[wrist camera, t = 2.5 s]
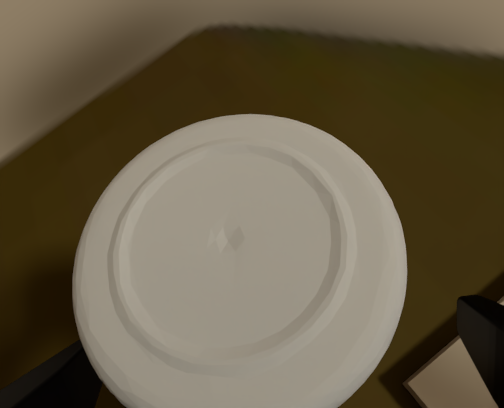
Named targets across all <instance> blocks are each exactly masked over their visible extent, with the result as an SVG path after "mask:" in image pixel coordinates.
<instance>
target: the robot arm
mask: <svg viewBox="0 0 504 408" xmlns="http://www.w3.org/2000/svg"><path fill="white" fill-rule="evenodd" d="M457 331H458V334H459V337H460V339H461V340H462V342H463V344H464V346H465V348H466V350H467V352H468V354H469V355H470V357H471V359H472V361H473V363H474V365H475V367H476V369H477V370H478V372H479V374H480V376H481V378H482V380H483V382H484V384H485V385H486V387H487V389H488V391H489V393H490V394H491V396H492V398H493V400H494V401H495V403H496V404H497V406H498V407H499V408H504V305H502V304H499V303H497V302H494V301H492V300H489V299H487V298H484V297H482V296H479V295H468V296H461V297H459V298H458V300H457ZM102 383H103V382H102V381H101V379H100V378H99V376H98V375H97V373H96V371H95V370H94V368H93V366H92V365H91V363H90V361H89V358H88V356H87V354H86V352H85V350H84V348H83V345H82V342H81V340H78V341H76V342H75V343H73V344H72V345H70V346H69V347H67V348H65V349H64V350H62V351H61V352H59V353H58V354H56V355H55V356H53V357H51V358H50V359H48V360H47V361H45V362H44V363H42V364H41V365H39V366H37V367H36V368H34V369H33V370H31V371H30V372H28V373H27V374H25V375H23V376H22V377H20V378H19V379H17V380H16V381H14V382H13V383H11V384H9V385H8V386H6V387H5V388H3V389H2V390H0V408H94V407H95V404H96V401H97V398H98V395H99V392H100V389H101V386H102Z"/></svg>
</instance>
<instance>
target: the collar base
mask: <svg viewBox="0 0 504 408" xmlns="http://www.w3.org/2000/svg"><path fill="white" fill-rule="evenodd" d="M497 303H499V304H502V305H504V296H503V297H502V298H501V299H500V300H499V301H498V302H497ZM402 384H403V385H404V386H405V388H406V389H407V390H408V391H409V392H410V394H411V395H412V396H413V397H414V399H415V400H416V401H417V402H418V403H419V405H420V406H421V407H422V408H499V407H498V406H497V404H496V403H495V401H494V400H493V398H492V396H491V394H490V393H489V391H488V389H487V387H486V385H485V384H484V382H483V380H482V378H481V376H480V374H479V372H478V370H477V369H476V367H475V365H474V363H473V361H472V359H471V357H470V355H469V354H468V352H467V350H466V348H465V346H464V344H463V342H462V340H461V339H460V337H459V335H458V336H457V337H456V338H455V339H453V340H452V341H451V342H450V343H449V344H448V345H446V346H445V347H444V348H443V349H442V350H441V351H439V352H438V353H437V354H436V355H435V356H434V357H432V358H431V359H430V360H429V361H428V362H427V363H425V364H424V365H423V366H422V367H421V368H420V369H418V370H417V371H416V372H415V373H414V374H413V375H411V376H410V377H409V378H408V379H407V380H406V381H404V382H403V383H402Z"/></svg>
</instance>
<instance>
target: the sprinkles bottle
mask: <svg viewBox="0 0 504 408" xmlns="http://www.w3.org/2000/svg"><path fill="white" fill-rule="evenodd" d="M406 281H407V259H406V246H405V241H404V236H403V230H402V225H401V222H400V220H399V217H398V214H397V212H396V210H395V208H394V205H393V202H392V200H391V198H390V197H389V195H388V193H387V192H386V190H385V188H384V186H383V185H382V183H381V181H380V180H379V179H378V177H377V176H376V175H375V173H374V172H373V171H372V169H371V168H370V167H369V166H368V165H367V164H366V163H365V162H364V161H363V160H362V159H361V157H360V156H358V155H357V154H356V153H355V152H353V151H352V150H351V149H350V148H349V147H347V146H346V145H345V144H344V143H342V142H341V141H339V140H338V139H336V138H334V137H333V136H331V135H330V134H328V133H326V132H324V131H322V130H320V129H317V128H315V127H313V126H310V125H307V124H304V123H301V122H298V121H295V120H292V119H288V118H282V117H276V116H270V115H258V114H244V115H231V116H223V117H217V118H213V119H209V120H205V121H201V122H197V123H195V124H192V125H189V126H187V127H184V128H182V129H179V130H177V131H175V132H173V133H171V134H169V135H167V136H165V137H164V138H162V139H160V140H159V141H157V142H155V143H153V144H152V145H150V146H149V147H147V148H146V149H145V150H143V151H142V152H141V153H139V154H138V155H137V156H136V157H135V158H134V159H133V160H131V161H130V162H129V163H128V164H127V165H126V166H125V167H124V168H123V169H122V170H121V171H120V172H119V173H118V174H117V175H116V177H115V178H114V179H113V180H112V181H111V183H110V184H109V185H108V186H107V188H106V189H105V191H104V192H103V193H102V195H101V197H100V198H99V200H98V201H97V203H96V205H95V207H94V208H93V210H92V212H91V214H90V216H89V218H88V220H87V223H86V225H85V227H84V230H83V233H82V235H81V238H80V241H79V245H78V248H77V251H76V256H75V263H74V269H73V280H72V299H73V310H74V316H75V321H76V325H77V329H78V333H79V337H80V340H81V342H82V345H83V348H84V350H85V352H86V354H87V356H88V358H89V361H90V363H91V365H92V366H93V368H94V370H95V371H96V373H97V375H98V376H99V378H100V379H101V381H102V382H103V383H104V384H105V386H106V387H107V388H108V390H109V391H110V392H111V393H112V394H113V395H114V396H115V397H116V398H117V399H118V400H119V401H120V403H121V404H123V405H124V406H125V407H127V408H337V407H339V406H340V405H341V404H342V403H343V402H345V401H346V400H347V399H348V398H349V397H350V396H351V395H352V394H353V393H354V392H355V391H356V390H357V389H358V388H359V387H360V386H361V385H362V384H363V383H364V382H365V381H366V379H367V378H368V377H369V376H370V374H371V373H372V372H373V371H374V369H375V368H376V366H377V365H378V363H379V362H380V360H381V358H382V357H383V355H384V353H385V352H386V350H387V349H388V347H389V345H390V342H391V340H392V338H393V335H394V333H395V330H396V328H397V325H398V322H399V318H400V315H401V311H402V308H403V304H404V299H405V293H406Z"/></svg>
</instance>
